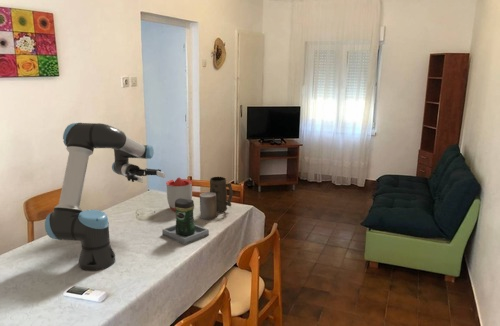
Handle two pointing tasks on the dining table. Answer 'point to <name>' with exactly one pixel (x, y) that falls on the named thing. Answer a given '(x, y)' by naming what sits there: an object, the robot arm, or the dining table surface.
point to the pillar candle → (208, 205)
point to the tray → (172, 234)
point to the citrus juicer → (178, 191)
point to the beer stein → (221, 192)
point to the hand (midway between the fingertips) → (153, 177)
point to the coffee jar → (184, 217)
